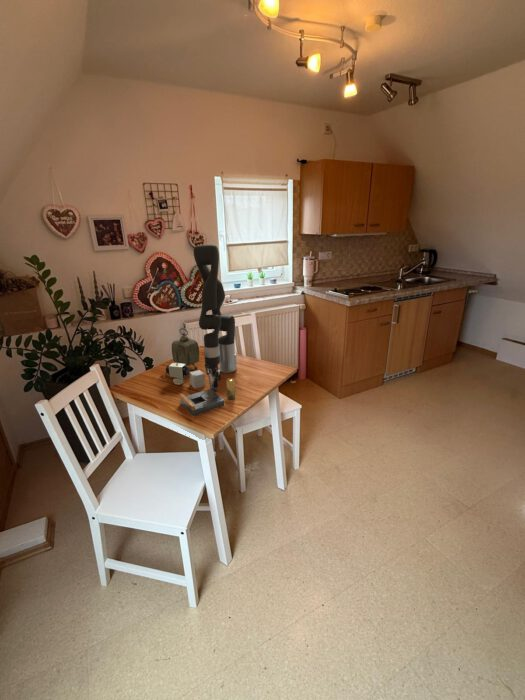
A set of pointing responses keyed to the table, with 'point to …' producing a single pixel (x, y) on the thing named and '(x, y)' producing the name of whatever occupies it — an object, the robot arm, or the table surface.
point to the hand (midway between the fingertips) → (213, 385)
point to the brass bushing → (230, 389)
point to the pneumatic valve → (177, 372)
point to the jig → (207, 402)
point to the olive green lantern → (185, 350)
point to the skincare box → (197, 379)
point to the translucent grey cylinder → (212, 383)
